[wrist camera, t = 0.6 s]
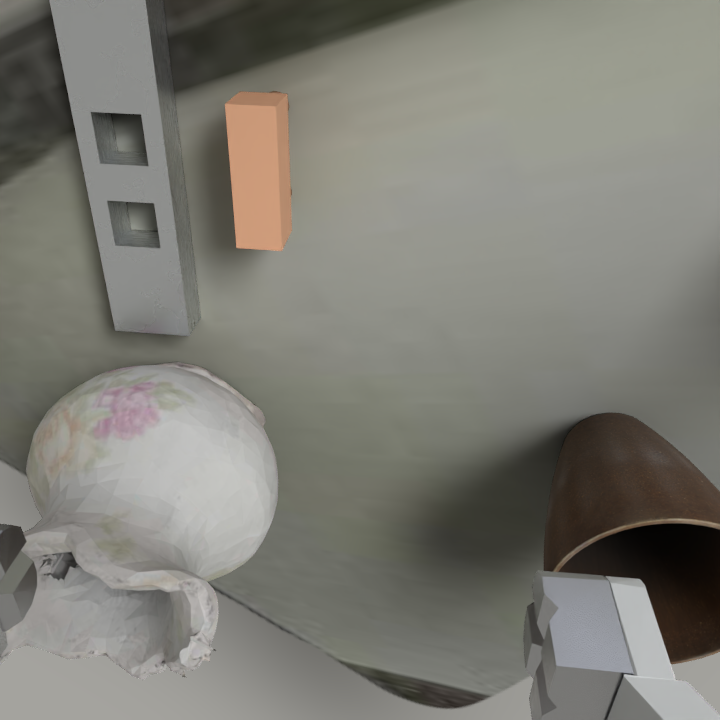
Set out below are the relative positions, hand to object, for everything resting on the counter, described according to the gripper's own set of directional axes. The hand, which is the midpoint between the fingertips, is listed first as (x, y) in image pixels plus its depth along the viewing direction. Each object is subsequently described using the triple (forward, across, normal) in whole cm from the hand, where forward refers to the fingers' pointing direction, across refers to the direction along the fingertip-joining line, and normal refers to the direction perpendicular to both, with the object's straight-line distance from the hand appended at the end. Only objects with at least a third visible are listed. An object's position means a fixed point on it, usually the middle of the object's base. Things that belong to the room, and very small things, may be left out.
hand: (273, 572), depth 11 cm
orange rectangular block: (+40, +8, +4) cm, 41 cm away
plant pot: (+41, -20, +28) cm, 53 cm away
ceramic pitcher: (+41, +18, +29) cm, 53 cm away
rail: (+40, +18, +6) cm, 45 cm away
